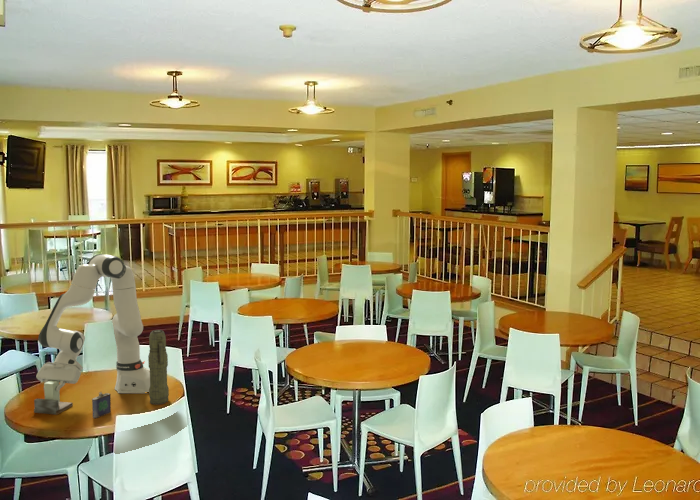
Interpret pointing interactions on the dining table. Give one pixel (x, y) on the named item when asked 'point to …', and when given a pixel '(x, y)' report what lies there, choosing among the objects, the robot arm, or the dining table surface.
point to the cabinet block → (51, 390)
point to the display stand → (50, 406)
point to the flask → (101, 405)
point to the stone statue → (158, 368)
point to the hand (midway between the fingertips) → (51, 390)
